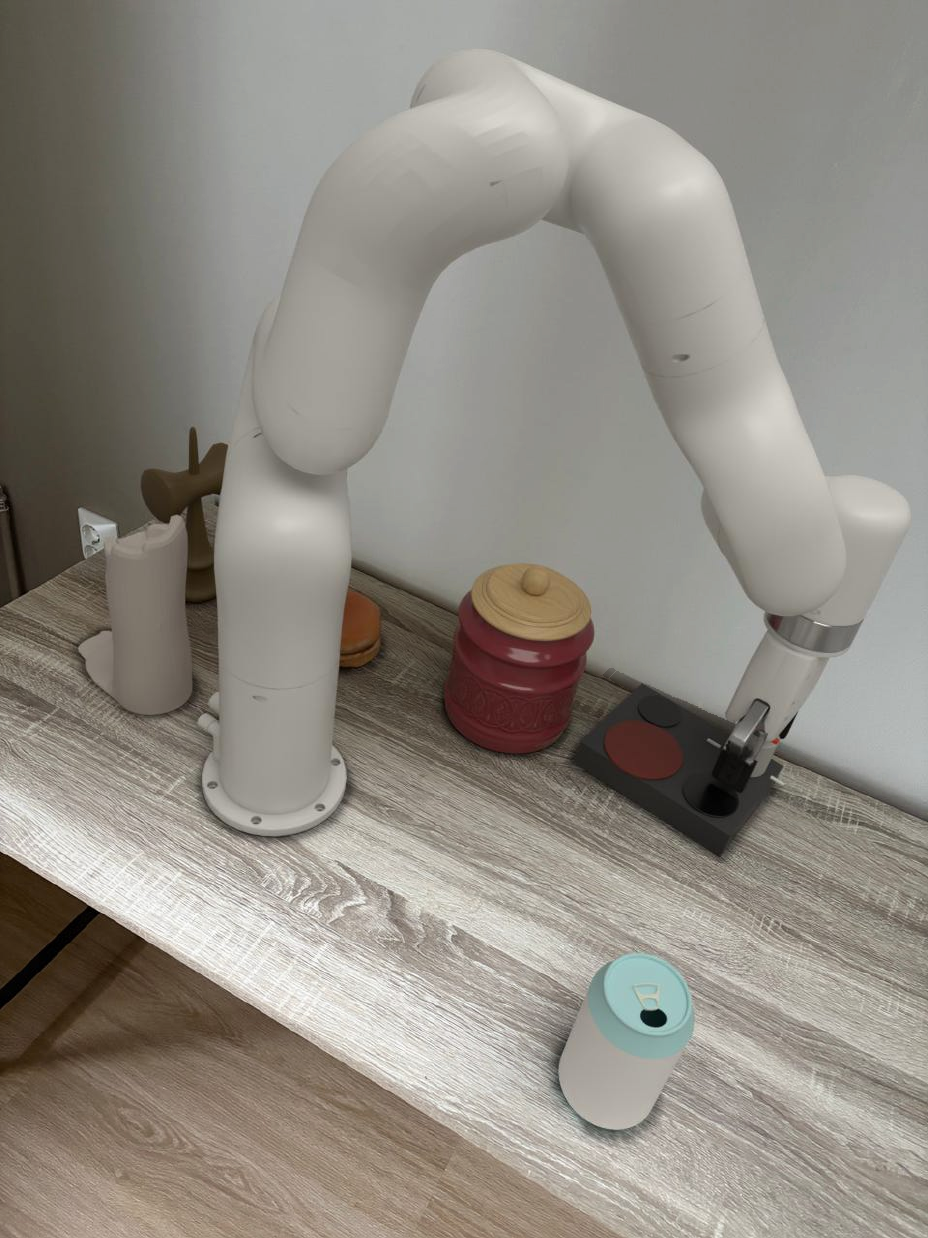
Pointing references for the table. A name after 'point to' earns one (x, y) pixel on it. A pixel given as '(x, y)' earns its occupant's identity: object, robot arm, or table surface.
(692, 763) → the stove
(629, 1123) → the can
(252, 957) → the table surface
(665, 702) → the burners
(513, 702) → the kitchen canister
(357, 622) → the burger
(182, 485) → the kendama
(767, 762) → the stove knob
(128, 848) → the table surface
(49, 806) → the table surface
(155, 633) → the candle
